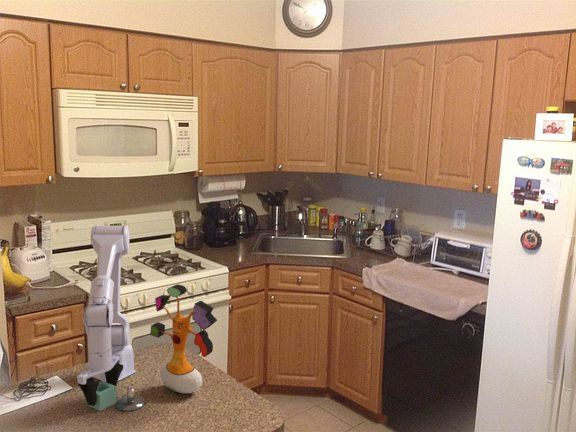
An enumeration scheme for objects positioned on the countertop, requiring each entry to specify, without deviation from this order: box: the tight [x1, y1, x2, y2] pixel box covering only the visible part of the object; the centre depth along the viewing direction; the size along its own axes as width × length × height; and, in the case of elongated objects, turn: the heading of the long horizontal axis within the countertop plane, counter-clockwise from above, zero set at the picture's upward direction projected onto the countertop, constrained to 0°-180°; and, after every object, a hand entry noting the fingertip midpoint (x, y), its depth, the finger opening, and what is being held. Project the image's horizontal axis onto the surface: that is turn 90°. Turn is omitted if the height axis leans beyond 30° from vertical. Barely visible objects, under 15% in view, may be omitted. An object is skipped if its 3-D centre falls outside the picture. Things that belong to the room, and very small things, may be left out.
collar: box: [85, 380, 118, 412], centre depth 144 cm, size 5×5×4 cm
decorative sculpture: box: [149, 284, 218, 394], centre depth 150 cm, size 20×8×30 cm, turn 65°
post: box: [116, 386, 146, 413], centre depth 144 cm, size 7×7×4 cm
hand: (101, 397), depth 145 cm, fingers open, 7 cm apart
